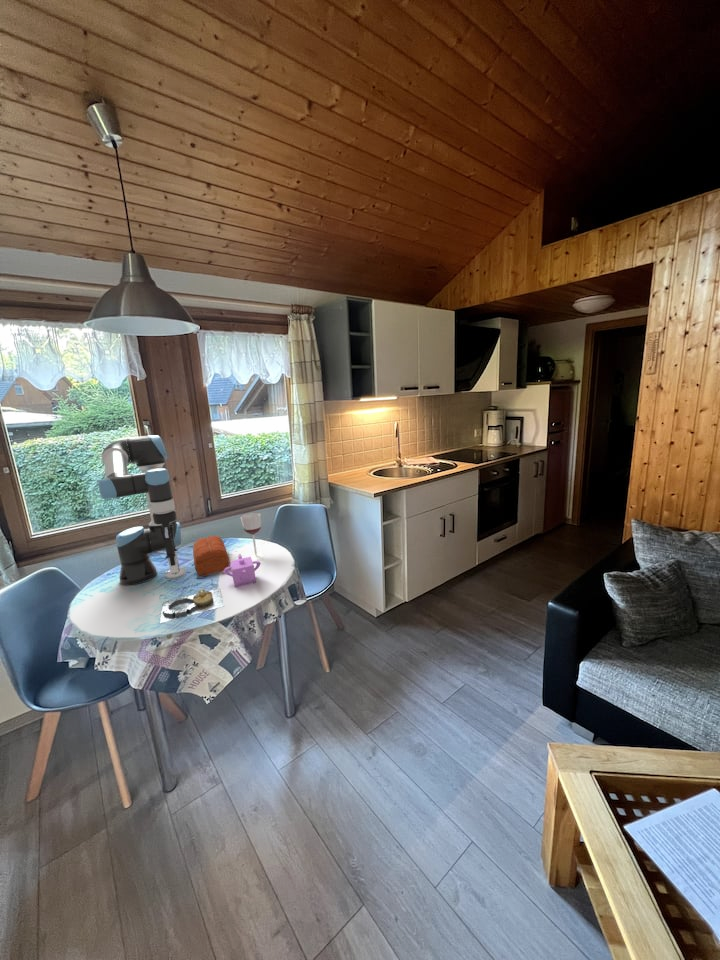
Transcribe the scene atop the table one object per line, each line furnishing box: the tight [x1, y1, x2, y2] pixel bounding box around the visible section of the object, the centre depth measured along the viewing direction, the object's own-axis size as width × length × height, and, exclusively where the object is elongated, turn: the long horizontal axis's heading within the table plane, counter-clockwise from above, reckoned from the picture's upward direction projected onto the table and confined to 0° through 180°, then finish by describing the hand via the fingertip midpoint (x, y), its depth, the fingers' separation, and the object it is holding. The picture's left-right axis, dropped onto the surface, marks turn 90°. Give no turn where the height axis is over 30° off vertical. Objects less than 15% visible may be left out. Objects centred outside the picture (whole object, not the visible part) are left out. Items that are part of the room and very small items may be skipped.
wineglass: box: [240, 512, 266, 562], centre depth 192 cm, size 9×10×22 cm
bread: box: [192, 535, 231, 577], centre depth 190 cm, size 16×27×11 cm, turn 25°
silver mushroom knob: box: [164, 551, 187, 580], centre depth 145 cm, size 7×7×8 cm
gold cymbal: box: [193, 589, 213, 606], centre depth 151 cm, size 7×7×4 cm
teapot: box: [223, 553, 261, 588], centre depth 167 cm, size 15×13×11 cm
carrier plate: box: [159, 588, 225, 624], centre depth 150 cm, size 16×22×3 cm
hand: (175, 570), depth 146 cm, fingers closed on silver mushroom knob, 3 cm apart
